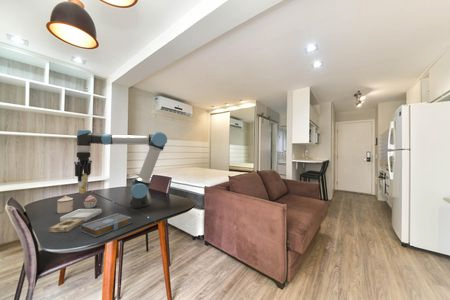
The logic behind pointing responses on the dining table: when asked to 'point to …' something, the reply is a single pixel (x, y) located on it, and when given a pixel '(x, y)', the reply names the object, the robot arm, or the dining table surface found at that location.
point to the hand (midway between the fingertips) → (82, 185)
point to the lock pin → (83, 188)
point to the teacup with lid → (65, 205)
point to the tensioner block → (66, 225)
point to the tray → (82, 214)
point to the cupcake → (90, 202)
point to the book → (105, 224)
